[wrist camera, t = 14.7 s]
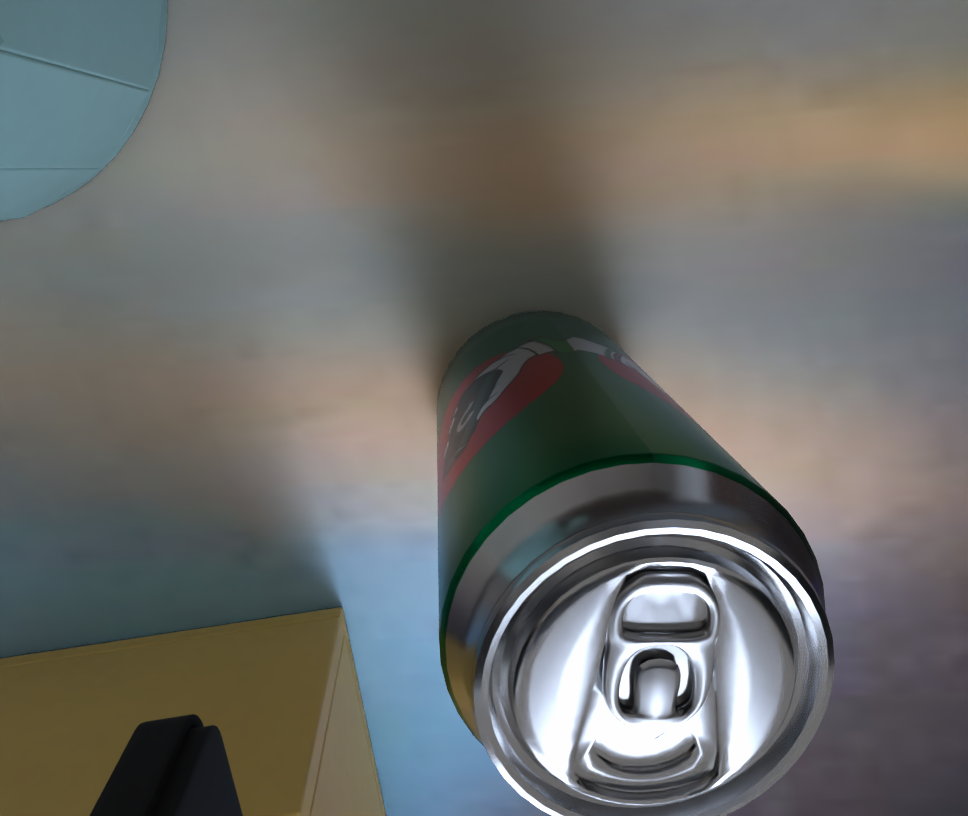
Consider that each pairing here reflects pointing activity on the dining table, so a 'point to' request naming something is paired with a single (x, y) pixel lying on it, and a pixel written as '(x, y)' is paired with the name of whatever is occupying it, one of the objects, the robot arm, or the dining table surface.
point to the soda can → (615, 585)
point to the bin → (206, 693)
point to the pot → (71, 91)
